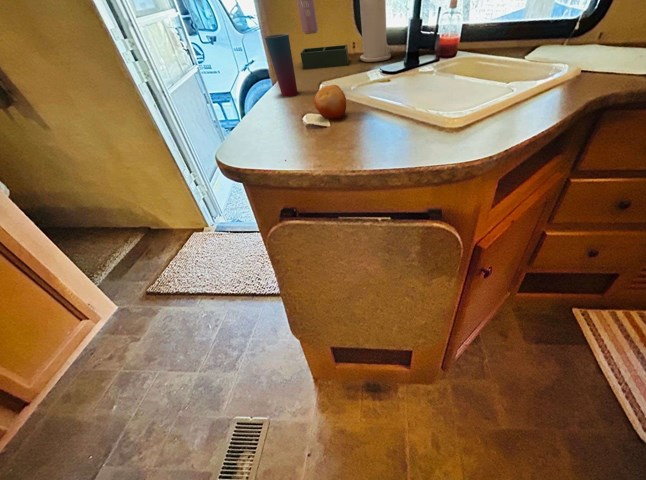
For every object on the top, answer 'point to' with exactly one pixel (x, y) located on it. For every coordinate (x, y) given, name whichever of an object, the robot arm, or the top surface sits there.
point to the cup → (282, 62)
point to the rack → (324, 57)
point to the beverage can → (307, 16)
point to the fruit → (330, 102)
